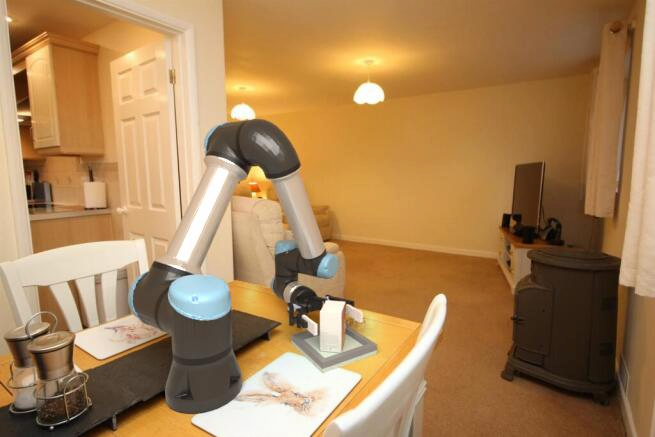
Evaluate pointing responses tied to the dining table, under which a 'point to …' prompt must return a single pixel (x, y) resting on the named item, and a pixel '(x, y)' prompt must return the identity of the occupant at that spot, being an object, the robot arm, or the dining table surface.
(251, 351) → the dining table surface
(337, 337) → the small box
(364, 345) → the tray
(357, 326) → the dice set
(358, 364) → the dining table surface
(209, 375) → the robot arm
